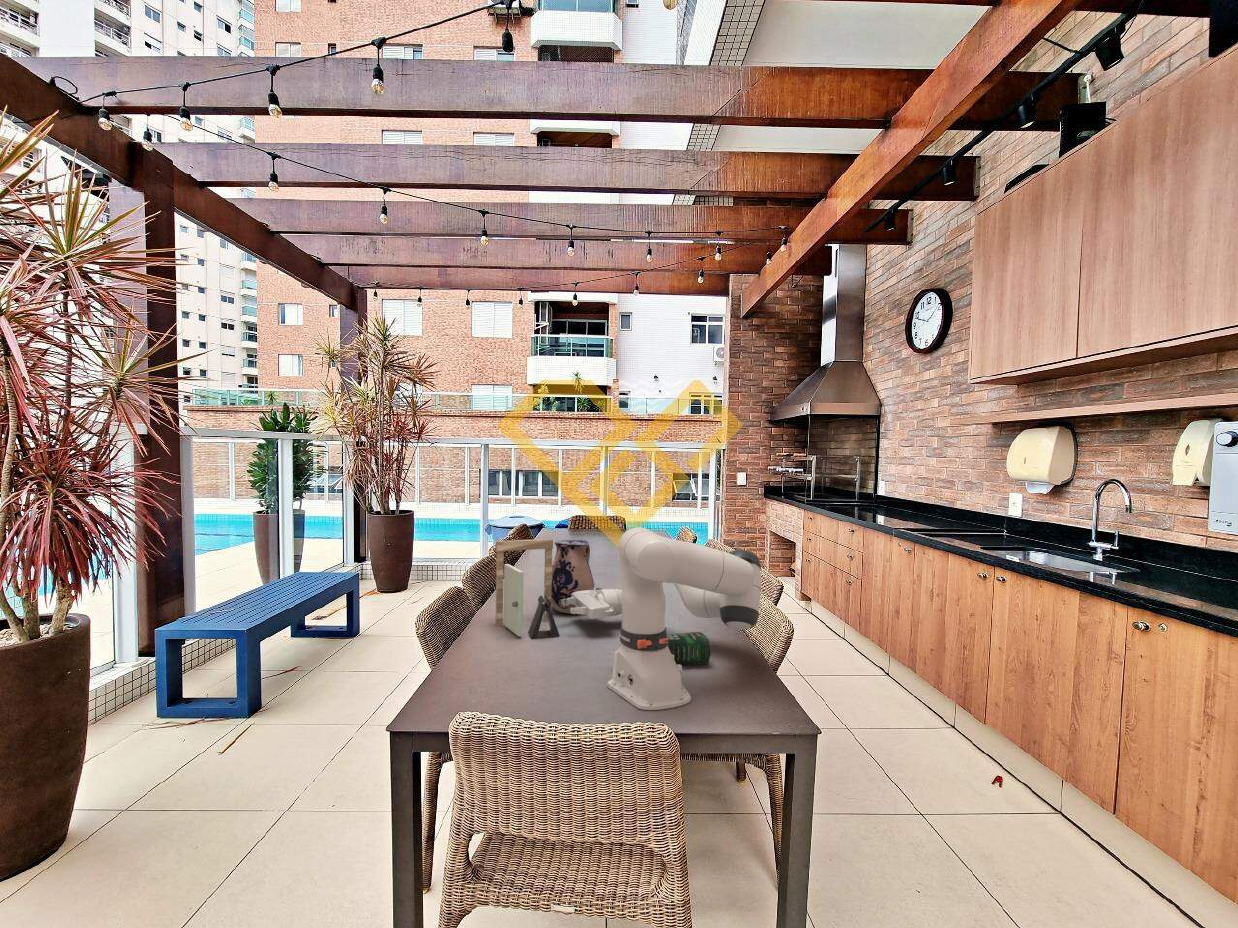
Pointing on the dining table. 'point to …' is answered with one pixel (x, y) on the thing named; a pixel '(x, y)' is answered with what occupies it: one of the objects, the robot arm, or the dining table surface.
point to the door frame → (500, 549)
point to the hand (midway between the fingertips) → (566, 606)
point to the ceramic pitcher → (570, 572)
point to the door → (513, 599)
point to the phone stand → (537, 620)
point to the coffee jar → (689, 648)
